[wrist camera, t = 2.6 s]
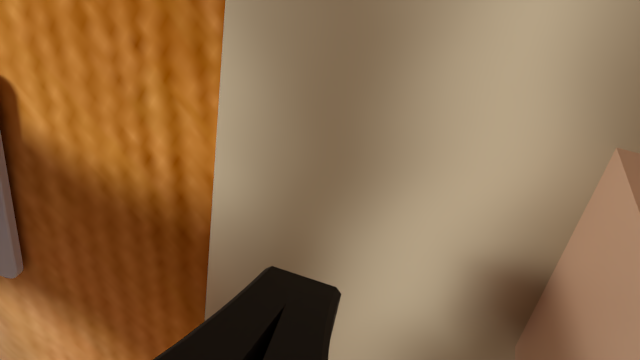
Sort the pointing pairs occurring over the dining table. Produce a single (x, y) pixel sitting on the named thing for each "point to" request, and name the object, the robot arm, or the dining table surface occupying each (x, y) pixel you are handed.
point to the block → (595, 278)
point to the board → (416, 158)
